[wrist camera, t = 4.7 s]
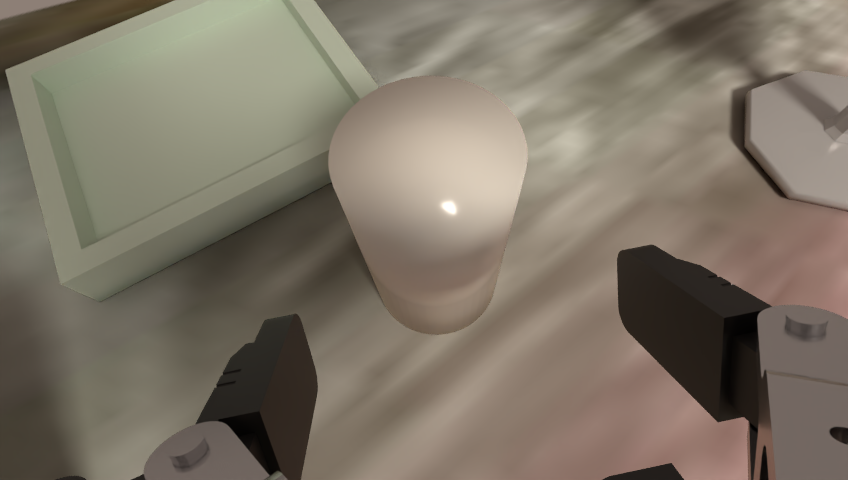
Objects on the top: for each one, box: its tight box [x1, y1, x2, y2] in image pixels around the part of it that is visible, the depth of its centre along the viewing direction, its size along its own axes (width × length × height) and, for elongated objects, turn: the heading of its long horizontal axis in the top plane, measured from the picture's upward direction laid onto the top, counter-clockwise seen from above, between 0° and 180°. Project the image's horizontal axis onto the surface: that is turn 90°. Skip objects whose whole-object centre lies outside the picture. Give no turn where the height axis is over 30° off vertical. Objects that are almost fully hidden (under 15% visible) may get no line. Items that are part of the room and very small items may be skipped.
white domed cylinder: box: [328, 76, 528, 335], centre depth 18 cm, size 6×6×10 cm
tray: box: [5, 0, 379, 302], centre depth 26 cm, size 17×15×2 cm
